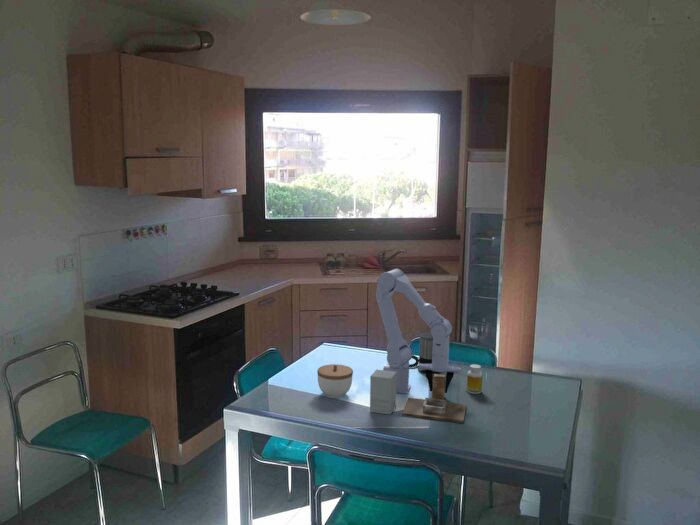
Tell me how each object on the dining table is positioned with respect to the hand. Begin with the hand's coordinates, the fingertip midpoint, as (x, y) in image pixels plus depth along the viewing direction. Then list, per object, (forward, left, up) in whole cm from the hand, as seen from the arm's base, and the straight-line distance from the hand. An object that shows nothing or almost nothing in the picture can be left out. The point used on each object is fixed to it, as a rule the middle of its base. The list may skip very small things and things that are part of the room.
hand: (438, 391), depth 216 cm
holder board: (0, -12, -2) cm, 12 cm away
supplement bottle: (+12, +10, -3) cm, 16 cm away
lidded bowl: (-36, -8, -3) cm, 37 cm away
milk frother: (-10, +29, -3) cm, 31 cm away
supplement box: (-17, -16, -3) cm, 23 cm away
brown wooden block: (0, 0, -2) cm, 2 cm away
